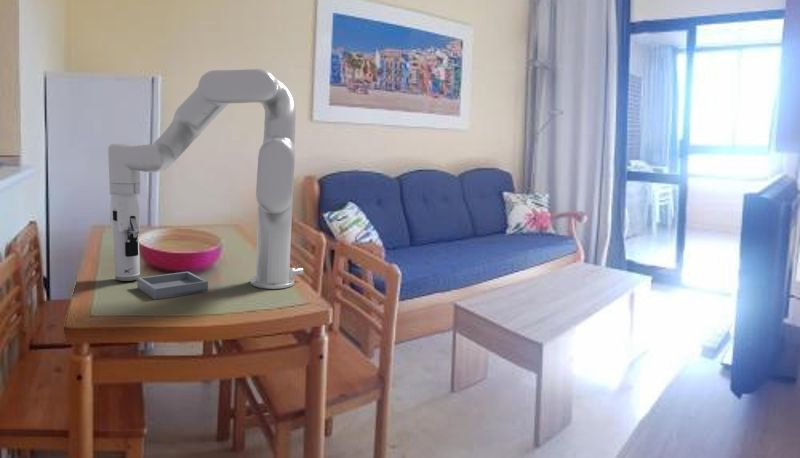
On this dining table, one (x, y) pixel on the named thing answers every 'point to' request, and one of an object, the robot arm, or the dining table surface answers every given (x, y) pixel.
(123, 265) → the travel mug
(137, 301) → the dining table surface
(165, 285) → the tray
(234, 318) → the dining table surface
